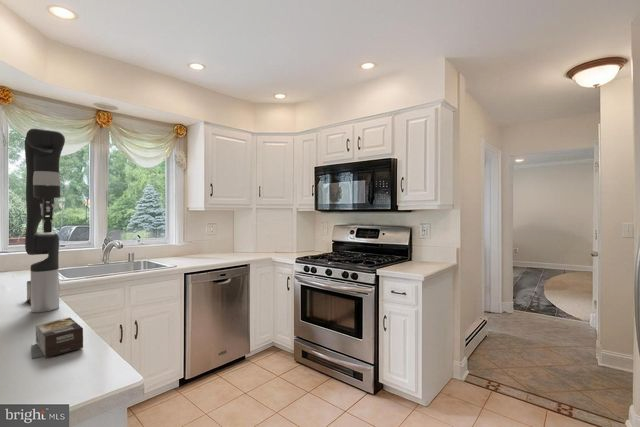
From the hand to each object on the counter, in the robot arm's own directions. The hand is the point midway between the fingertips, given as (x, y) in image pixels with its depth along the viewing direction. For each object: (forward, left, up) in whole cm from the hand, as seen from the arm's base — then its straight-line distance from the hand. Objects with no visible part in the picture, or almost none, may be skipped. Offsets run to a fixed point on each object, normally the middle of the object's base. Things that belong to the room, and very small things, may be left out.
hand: (47, 232), depth 116 cm
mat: (+23, 0, -35) cm, 42 cm away
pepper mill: (-48, 0, -35) cm, 60 cm away
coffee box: (+16, 0, -31) cm, 35 cm away
